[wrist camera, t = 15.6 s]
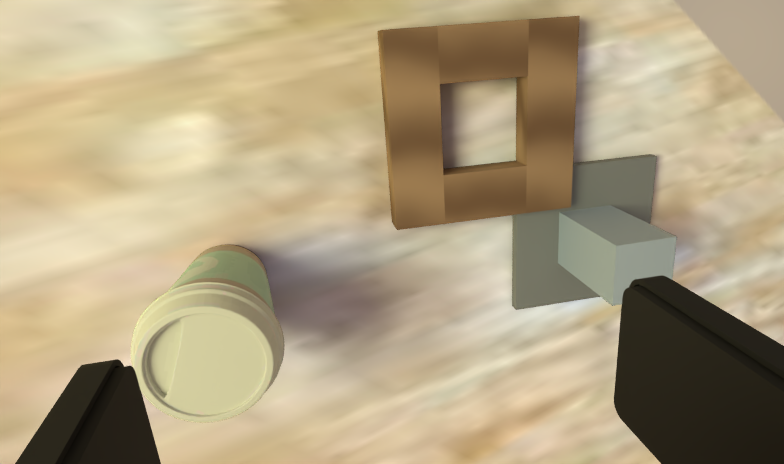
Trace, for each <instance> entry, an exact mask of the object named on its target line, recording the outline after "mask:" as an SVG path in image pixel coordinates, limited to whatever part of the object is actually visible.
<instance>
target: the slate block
mask: <svg viewBox="0 0 784 464" xmlns="http://www.w3.org/2000/svg"><path fill="white" fill-rule="evenodd" d="M676 240H677V237H676V236H674V235H672V234H670V233H668V232H666V231H664V230H662V229H660V228H657V227H655V226H653V225H651V224H649V223H647V222H645V221H643V220H641V219H638V218H636V217H634V216H632V215H630V214H628V213H626V212H624V211H622V210H619V209H617V208H615V207H613V206H611V205H608V206H601V207H594V208H586V209H579V210H572V211H565V212H559V244H558V264H560V265H561V266H562V267H564V268H565V269H566V270H567V271H569V272H570V273H571V274H572V275H574V276H575V277H576V278H578V279H579V280H580V281H581V282H583V283H584V284H585V285H587V286H588V287H589V288H590V289H592V290H593V291H594V292H595V293H597V294H598V295H599V296H601V297H602V298H603V299H604V300H606V301H607V302H608V303H610V304H611V305H612V306H614V305H620V304H622V297H623V292H624V291H625V289H626V288H629V286H630V284H631V282H632V281H633V280H635V279H641V278H647V277H654V276H661V275H663V276H666V277H668V278H670V279H671V280H672V277H673V268H674V258H675V249H676Z"/></svg>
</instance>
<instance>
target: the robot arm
mask: <svg viewBox="0 0 784 464" xmlns="http://www.w3.org/2000/svg"><path fill="white" fill-rule="evenodd" d="M614 404H615V408H616V411H617V413H618V415H619V417H620V418H621V420H622V421H623V422H624V423H625V424H626V425H627V426H628V427H629V428H630V430H631V431H632V432H633V433H634V434H635V435H636V436H637V437H638V438H639V439H640V441H641V442H642V443H643V444H644V445H645V446H646V447H647V448H648V449H649V450H650V452H651V453H652V454H653V455H654V456H655V457H656V458H657V459H658V460H659V462H660V463H661V464H784V346H783V345H781V344H779V343H778V342H776V341H774V340H773V339H771V338H769V337H768V336H766V335H764V334H763V333H761V332H759V331H757V330H756V329H754V328H752V327H751V326H749V325H747V324H746V323H744V322H742V321H741V320H739V319H737V318H736V317H734V316H732V315H730V314H729V313H727V312H725V311H724V310H722V309H720V308H719V307H717V306H715V305H714V304H712V303H710V302H709V301H707V300H705V299H703V298H702V297H700V296H698V295H697V294H695V293H693V292H692V291H690V290H688V289H687V288H685V287H683V286H682V285H680V284H678V283H676V282H675V281H673V280H671V279H670V278H668V277H666V276H663V275H661V276H654V277H647V278H641V279H635V280H633V281H632V282H631V284H630V286H629V288H626V289H625V291H624V292H623V297H622V309H621V321H620V333H619V345H618V357H617V369H616V381H615V393H614ZM15 464H161V463H160V459H159V455H158V452H157V448H156V444H155V441H154V437H153V434H152V430H151V426H150V423H149V419H148V415H147V412H146V408H145V404H144V401H143V397H142V394H141V390H140V386H139V383H138V379H137V375H136V372H135V370H134V368H133V367H132V366H126V367H124V366H123V364H122V363H121V361H119V360H111V361H105V362H98V363H92V364H85V365H81V367H80V368H79V369H78V370H77V372H76V373H75V375H74V376H73V378H72V379H71V381H70V382H69V384H68V385H67V387H66V388H65V390H64V391H63V393H62V394H61V396H60V397H59V399H58V400H57V402H56V403H55V405H54V406H53V408H52V409H51V411H50V412H49V414H48V415H47V417H46V418H45V420H44V421H43V423H42V424H41V426H40V427H39V429H38V430H37V432H36V433H35V435H34V436H33V438H32V439H31V441H30V442H29V444H28V445H27V447H26V448H25V450H24V451H23V453H22V454H21V456H20V457H19V459H18V460H17V462H16V463H15Z"/></svg>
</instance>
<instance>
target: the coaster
mask: <svg viewBox="0 0 784 464" xmlns="http://www.w3.org/2000/svg"><path fill="white" fill-rule="evenodd" d="M656 158H657V156H655V155H651V154H649V155H641V156H632V157H623V158H615V159H606V160H598V161H589V162H580V163H573V173H572V196H571V207H570V208H562V209H554V210H547V211H539V212H531V213H523V214H516V215H513V273H512V306H513V307H514V308H515V309H516V310H518V309H524V308H530V307H537V306H543V305H549V304H555V303H562V302H568V301H574V300H581V299H587V298H593V297H600V296H599V295H598V294H597V293H595V292H594V291H593V290H592V289H590V288H589V287H588V286H587V285H585V284H584V283H583V282H581V281H580V280H579V279H578V278H576V277H575V276H574V275H572V274H571V273H570V272H569V271H567V270H566V269H565V268H564V267H562V266H561V265H560V264H558V244H559V212H565V211H572V210H579V209H586V208H594V207H601V206H608V205H611V206H613V207H615V208H617V209H619V210H622V211H624V212H626V213H628V214H630V215H632V216H634V217H636V218H638V219H641V220H643V221H645V222H647V223H649V224H650V220H651V210H652V199H653V189H654V179H655V169H656Z"/></svg>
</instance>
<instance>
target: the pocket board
mask: <svg viewBox="0 0 784 464" xmlns="http://www.w3.org/2000/svg"><path fill="white" fill-rule="evenodd" d="M578 37H579V16H571V17H557V18H543V19H529V20H515V21H501V22H487V23H473V24H459V25H446V26H432V27H418V28H404V29H390V30H380V31H378V42H379V56H380V69H381V82H382V95H383V109H384V122H385V135H386V148H387V162H388V175H389V188H390V201H391V215H392V223H393V224H394V226H395V228H396V229H397V230H400V229H408V228H416V227H423V226H431V225H439V224H446V223H454V222H462V221H470V220H477V219H485V218H493V217H500V216H508V215H516V214H523V213H531V212H539V211H547V210H554V209H562V208H570V207H571V196H572V173H573V150H574V128H575V105H576V82H577V60H578ZM513 77H517V108H516V161H509V162H500V163H491V164H483V165H474V166H465V167H456V168H447V169H443V152H442V127H441V102H440V84H445V83H456V82H468V81H479V80H490V79H501V78H513Z"/></svg>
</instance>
